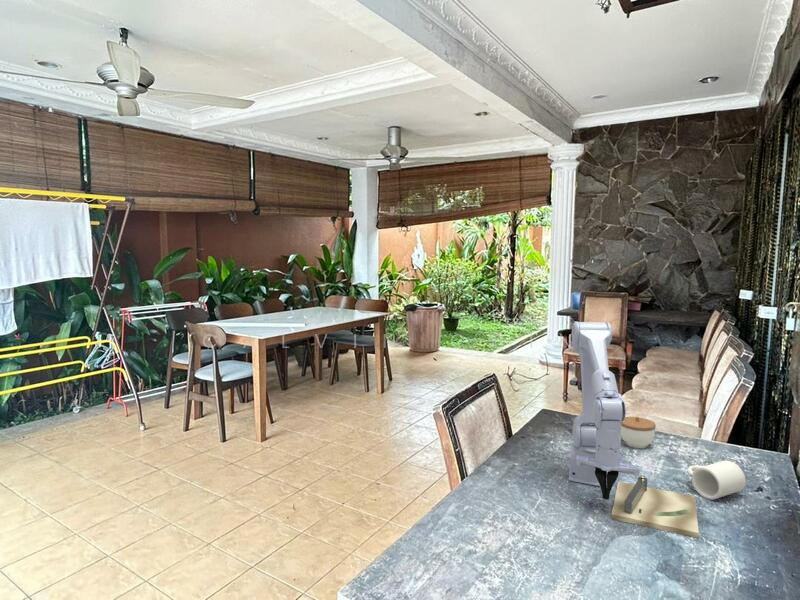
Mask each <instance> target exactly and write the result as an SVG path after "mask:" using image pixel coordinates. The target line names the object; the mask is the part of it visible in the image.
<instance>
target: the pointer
mask: <svg viewBox="0 0 800 600" xmlns="http://www.w3.org/2000/svg"><path fill="white" fill-rule="evenodd" d="M634 485H635V486H634V487H633V489H632V490H631V492H630V493H629V495H628V496H627V498H626V499H625V506H624V511H626V512H630V513H632V511H633V509H634V508H635V506H636V504H637V503H638V501H639V499H640V498H641V496H642V494H643V493H644V491H646V490H647V487H648V477H646V476H645V475H639V477H637V481H636V483H635V484H634Z"/></svg>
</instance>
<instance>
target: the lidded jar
mask: <svg viewBox="0 0 800 600" xmlns="http://www.w3.org/2000/svg"><path fill="white" fill-rule="evenodd" d="M656 427H657V426H656V423H655V422H654V421H653V420H650V419H647V418H644V417H640V416H625V420H624V421H621V440H623V441H624V443H625V444H626V446H629V447H630V448H635V449H646V448H647V447H648V446H649V445H650V444H651V443H652V442H653V440H654V438H655V434H656Z"/></svg>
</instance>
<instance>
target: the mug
mask: <svg viewBox="0 0 800 600" xmlns="http://www.w3.org/2000/svg"><path fill="white" fill-rule="evenodd" d="M686 473H687V475H688V476H689V477H691V482H692V485H693V488H694V490H695V491H696V492H697V493H698V494H699V495H700V496H701V497H703V498H704V499H707V500H712V501H713V500H717V499H720V498H722V497H726V496H729V495H732V494H734V493H739V492H741V491H743V489H745V486H746V482H747V481H746V480H747V479H746V476H745V474H744V472H743V469H741V468H740V466H738V465H737V463H735V462H732V461H730V460H721V461H718V462H717V461H716V462H715V463H711V464H710V463H709V464H707V465H697V464H695V465H691V466H690V465H689V466H688V468H687V469H686Z"/></svg>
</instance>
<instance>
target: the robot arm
mask: <svg viewBox="0 0 800 600" xmlns="http://www.w3.org/2000/svg"><path fill="white" fill-rule="evenodd" d="M612 339H613V328H612V325H611V323H610V322H608V321H605V322H604V321H602V322H599V321H597V322H596V321H574V323H572V326H571V347H572V350H573V352H574V353H577V354H578V356H579V362H580V375H581V376H580V378H581V379H580V380H581V395H582V396H581V399H582V413H581V412H580V414H579V415H577V416H576V417H574V419H573V421H572V422H573V423H572V441H573V444H572V445H570V451H569V467H568V481H570V482H575V483H580V484H586V485H591V486H596V487H600V490H601V495H602V500H610V495H611V491H612V489H613V486H614V484H615V483H616V481H617V479H618V478H619V473H621V474H629V475H633V476H634V477H637V478H638V477H640V470H641V469H640V465H635V464H631V463H628V462H625V461H621V443H622V442H621V440H622V437H621V421H624V420H625V417H627V416H626V415H627V414H626V413H627V408H626V403H625V400H624V398H623V397H622V394H621V393H619V390H618V384H617V380H616V376H615V373H613V372H612V371H610V370H609V358H608V348H609V347H610V345H611V342H612Z"/></svg>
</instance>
